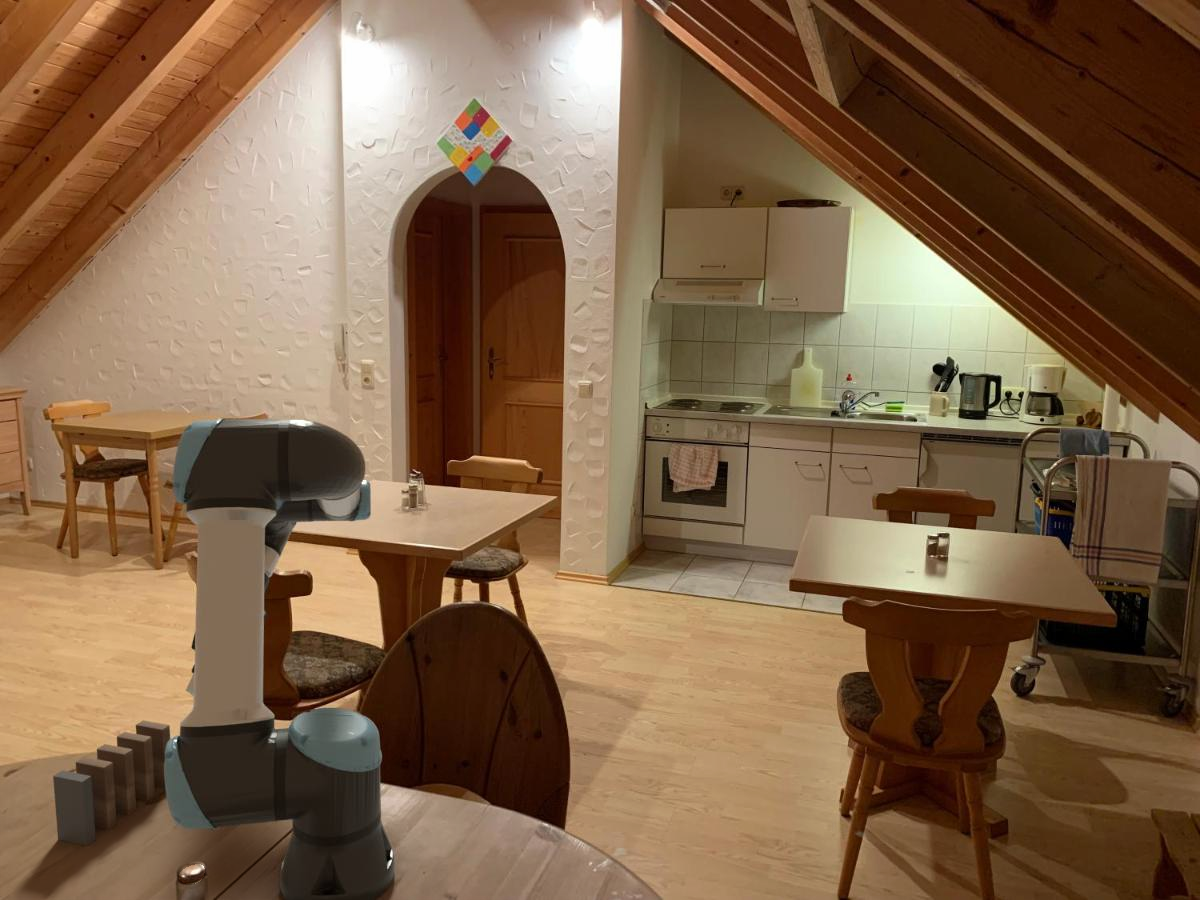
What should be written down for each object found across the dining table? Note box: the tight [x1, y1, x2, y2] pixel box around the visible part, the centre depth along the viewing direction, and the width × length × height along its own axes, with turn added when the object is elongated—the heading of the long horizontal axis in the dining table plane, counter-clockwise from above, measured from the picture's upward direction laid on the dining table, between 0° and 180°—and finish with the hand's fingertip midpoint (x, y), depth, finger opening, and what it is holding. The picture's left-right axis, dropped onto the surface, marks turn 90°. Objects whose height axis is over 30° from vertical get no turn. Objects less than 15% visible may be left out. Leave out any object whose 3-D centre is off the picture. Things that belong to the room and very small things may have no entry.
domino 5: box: [135, 719, 171, 788], centre depth 145 cm, size 2×5×10 cm, turn 76°
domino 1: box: [52, 769, 96, 847], centre depth 130 cm, size 2×5×10 cm, turn 76°
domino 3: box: [96, 743, 137, 816], centre depth 138 cm, size 2×5×10 cm, turn 76°
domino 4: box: [116, 731, 156, 802], centre depth 142 cm, size 2×5×10 cm, turn 76°
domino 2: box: [75, 756, 117, 831], centre depth 134 cm, size 2×5×10 cm, turn 76°
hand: (193, 693), depth 154 cm, fingers closed
